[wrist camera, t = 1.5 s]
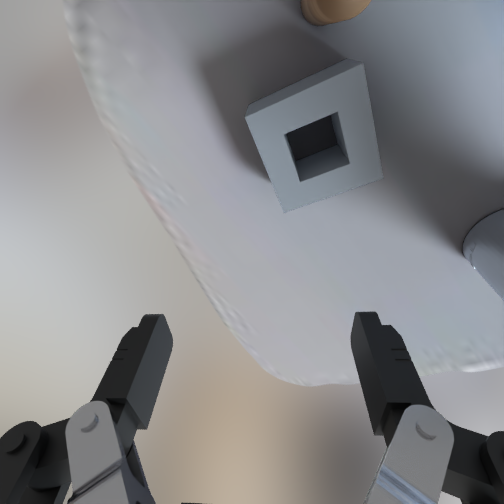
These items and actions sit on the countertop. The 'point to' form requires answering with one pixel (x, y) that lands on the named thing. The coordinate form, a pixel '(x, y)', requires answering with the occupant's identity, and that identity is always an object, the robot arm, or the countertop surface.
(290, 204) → the socket block
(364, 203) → the countertop surface
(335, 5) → the walnut dowel
